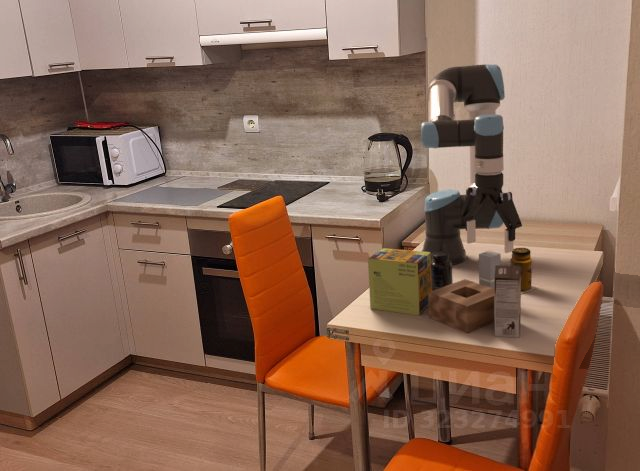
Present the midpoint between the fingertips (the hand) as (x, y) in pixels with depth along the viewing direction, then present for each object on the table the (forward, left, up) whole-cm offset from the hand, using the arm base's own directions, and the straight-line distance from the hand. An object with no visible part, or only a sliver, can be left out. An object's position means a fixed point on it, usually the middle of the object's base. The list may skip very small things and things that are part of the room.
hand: (489, 247), depth 188 cm
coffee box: (+16, -12, -16) cm, 26 cm away
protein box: (-15, -20, -16) cm, 30 cm away
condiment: (0, +13, -16) cm, 21 cm away
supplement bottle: (-15, -4, -16) cm, 23 cm away
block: (+4, -14, -16) cm, 21 cm away
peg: (0, 0, -16) cm, 16 cm away
